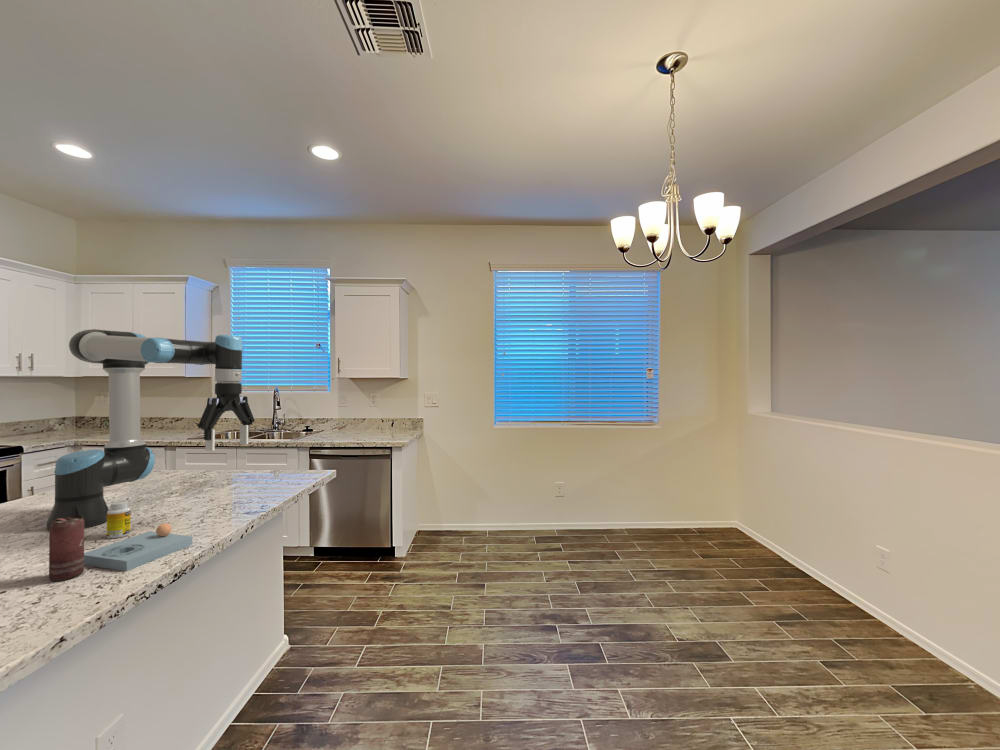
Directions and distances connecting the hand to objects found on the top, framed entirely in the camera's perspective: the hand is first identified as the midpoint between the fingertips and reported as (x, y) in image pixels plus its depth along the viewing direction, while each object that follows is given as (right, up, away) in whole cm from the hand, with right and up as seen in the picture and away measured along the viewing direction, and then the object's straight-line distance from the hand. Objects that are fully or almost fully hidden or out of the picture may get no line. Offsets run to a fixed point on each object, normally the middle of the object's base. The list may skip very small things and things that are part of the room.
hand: (227, 447), depth 145 cm
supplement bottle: (-27, -26, -10) cm, 39 cm away
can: (-17, -26, -37) cm, 48 cm away
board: (-10, -26, -23) cm, 36 cm away
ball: (-8, -21, -16) cm, 28 cm away
